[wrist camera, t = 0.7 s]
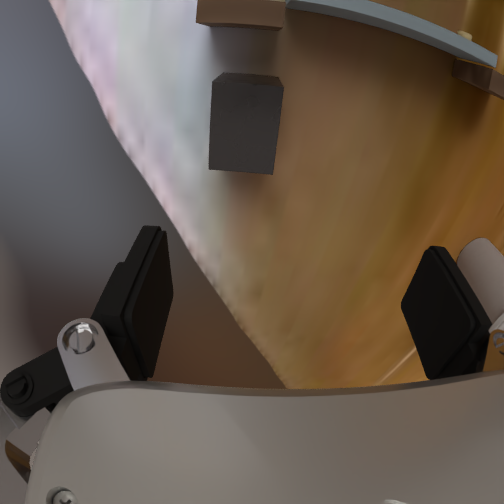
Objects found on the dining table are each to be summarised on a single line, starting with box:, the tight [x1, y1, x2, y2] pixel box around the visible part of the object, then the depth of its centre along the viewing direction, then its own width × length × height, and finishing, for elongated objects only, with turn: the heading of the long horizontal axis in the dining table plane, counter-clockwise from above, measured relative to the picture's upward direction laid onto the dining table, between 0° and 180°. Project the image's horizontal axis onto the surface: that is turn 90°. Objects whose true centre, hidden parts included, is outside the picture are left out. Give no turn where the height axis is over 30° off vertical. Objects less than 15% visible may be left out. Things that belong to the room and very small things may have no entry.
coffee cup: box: [457, 238, 504, 333], centre depth 31 cm, size 10×10×15 cm
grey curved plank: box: [285, 0, 498, 68], centre depth 18 cm, size 2×18×6 cm, turn 85°
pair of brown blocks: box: [196, 0, 504, 100], centre depth 20 cm, size 2×30×6 cm, turn 85°
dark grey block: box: [209, 72, 284, 175], centre depth 25 cm, size 7×5×7 cm
